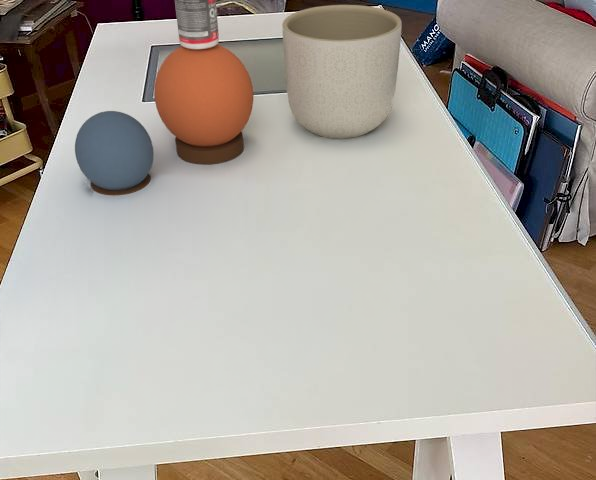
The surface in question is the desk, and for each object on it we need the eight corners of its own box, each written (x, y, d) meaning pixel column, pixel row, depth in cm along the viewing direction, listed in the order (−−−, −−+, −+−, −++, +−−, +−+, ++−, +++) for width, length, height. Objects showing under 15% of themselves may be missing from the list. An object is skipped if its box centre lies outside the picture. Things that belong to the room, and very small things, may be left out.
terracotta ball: (150, 167, 104) (131, 59, 94) (180, 127, 114) (166, 26, 104) (244, 173, 102) (235, 63, 92) (266, 132, 112) (260, 29, 102)
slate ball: (74, 208, 96) (52, 128, 88) (103, 174, 103) (85, 97, 96) (145, 214, 94) (129, 132, 87) (169, 179, 101) (157, 100, 94)
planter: (414, 137, 109) (423, 30, 99) (309, 157, 105) (307, 47, 95) (367, 98, 121) (371, -2, 111) (271, 114, 117) (266, 13, 107)
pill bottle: (222, 48, 96) (215, -34, 90) (182, 52, 96) (172, -31, 89) (216, 36, 100) (209, -44, 94) (177, 39, 99) (168, -41, 93)
